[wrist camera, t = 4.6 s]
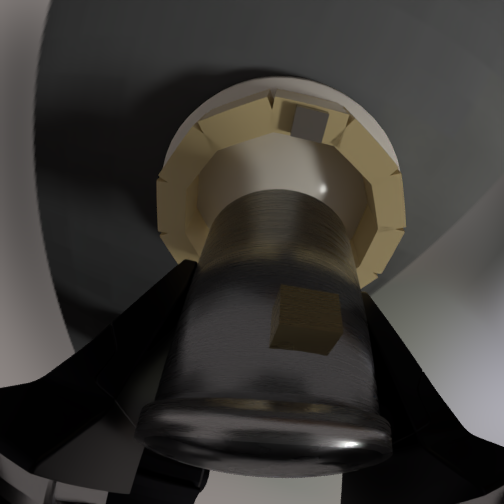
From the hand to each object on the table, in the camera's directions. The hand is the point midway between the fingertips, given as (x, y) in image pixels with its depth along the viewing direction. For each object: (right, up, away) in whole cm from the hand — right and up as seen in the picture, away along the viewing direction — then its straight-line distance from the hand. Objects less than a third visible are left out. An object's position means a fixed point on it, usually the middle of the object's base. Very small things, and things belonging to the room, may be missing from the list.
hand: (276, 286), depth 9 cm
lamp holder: (+1, +4, +5) cm, 6 cm away
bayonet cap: (0, +1, +1) cm, 2 cm away
